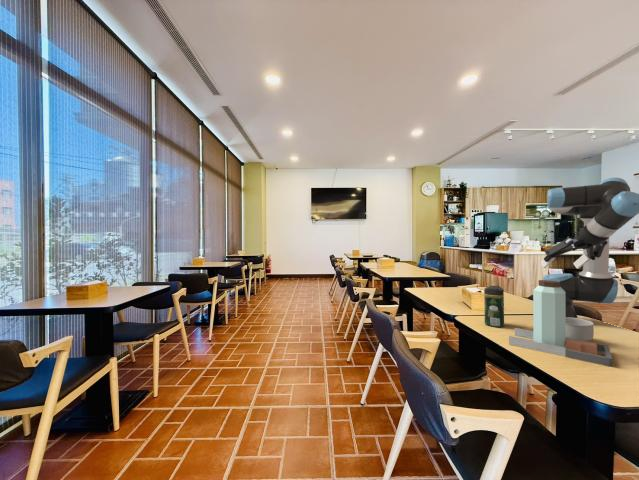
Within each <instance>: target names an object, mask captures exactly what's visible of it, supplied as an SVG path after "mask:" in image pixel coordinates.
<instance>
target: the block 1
mask: <svg viewBox="0 0 639 480" xmlns="http://www.w3.org/2000/svg"><path fill="white" fill-rule="evenodd" d="M565 347H566V349H569V350H574V351H579V352H581V341H576V340H570V339H566V346H565Z"/></svg>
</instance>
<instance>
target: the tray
mask: <svg viewBox="0 0 639 480" xmlns="http://www.w3.org/2000/svg"><path fill="white" fill-rule="evenodd" d="M567 339H570V338H567ZM570 340H576V339H570ZM576 341H581V340H576ZM586 342H587V341H586ZM590 342H591V343H594V342H592V341H590ZM595 343H596V345H597V352H601V353H603V355H604V356H603V355H599V354H597V355H595V354H590V353H584V352H579V351H574V350H569V349H565V356H564V357H566V358H569V359H573V360H578V361H584V362H588V363H593V364H598V365H601V366H602V365H603V366H606V367H613V357H612V354H611V350H610V346H609V345H608V344H604V343H603V344H602V343H597V342H595Z"/></svg>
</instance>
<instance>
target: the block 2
mask: <svg viewBox="0 0 639 480" xmlns="http://www.w3.org/2000/svg"><path fill="white" fill-rule="evenodd" d="M591 342H592V341H588V342H586V341H581V352H584V353H590V354H595V355H598V351H597V345H596V343H597V342H593V343H591Z"/></svg>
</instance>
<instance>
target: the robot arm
mask: <svg viewBox="0 0 639 480" xmlns="http://www.w3.org/2000/svg"><path fill="white" fill-rule="evenodd" d="M546 198H547V199H546V200H547V201H546V202H547V208H548V209H549V210H550V211H551V212H553V213H555V214H559V215H565V216H579V220H581V221H582V222H583V228H581V229H580V230H579V231H578V235H577V236H576V237H575V238H571V236H568V237H566V238H564V240H562V241H560V242H559V243H556V244H555V245H553V246H552V247H549V248H548V249H546V250H544V253H545V256H544V258H543V259H542V260H541V261H540V265H541V266H542V268H543V269H546V268H547V267H548V266H549V265H550V264H551V263H552V262H553V261H554V260H555V259H556V257H558V256H561V255H564V254H566V253H569V252H571V251H577V250H583V251H582V252H583V253H582V255H581V256H580V257H579V258H578V259H576V260H575V261H574V262H573V265H574V267H575V268H576V269H577V270H578V269H580V268H581V267H583V268H582V271H580V272H579V273H578V276H574V275H573V274H572V273H549V274H546V275H544V276H543V278H542V280H551V281H559V282H560V287H561V288H562V289H563V290H564V291H565V310H566V317H569V318H578V315H577V313H576V311H575V308H574V305H573V303H574V302H573V301H576V302H577V301H579V302H589V303H596V304H612V303H613V302H615V300H616V299H617V295H618V290H619V281H618V280H617V279H615V278H614V275H612V274H611V273H610V272H609V267H610V266H609V265H610V262H609V261H610V237H611V236H613V235H614V234H616V232H617V231H619V229H621V228H622V227H623V226H625V225H626V224H627V223H629V222H630V221H631V220H632V219H633V218H635V217H636V216H637V215H639V193H637V192H635V191H631V187H630V186H629V184H628V182H627V181H626V180H625V179H624V178H621V177H608V178H606V179H603V180H602V181H600V183H599V184H589V185H581V186H578V185H577V186H570V187H568V186H567V187H556V188H551V189H548V190H547V196H546Z"/></svg>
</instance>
